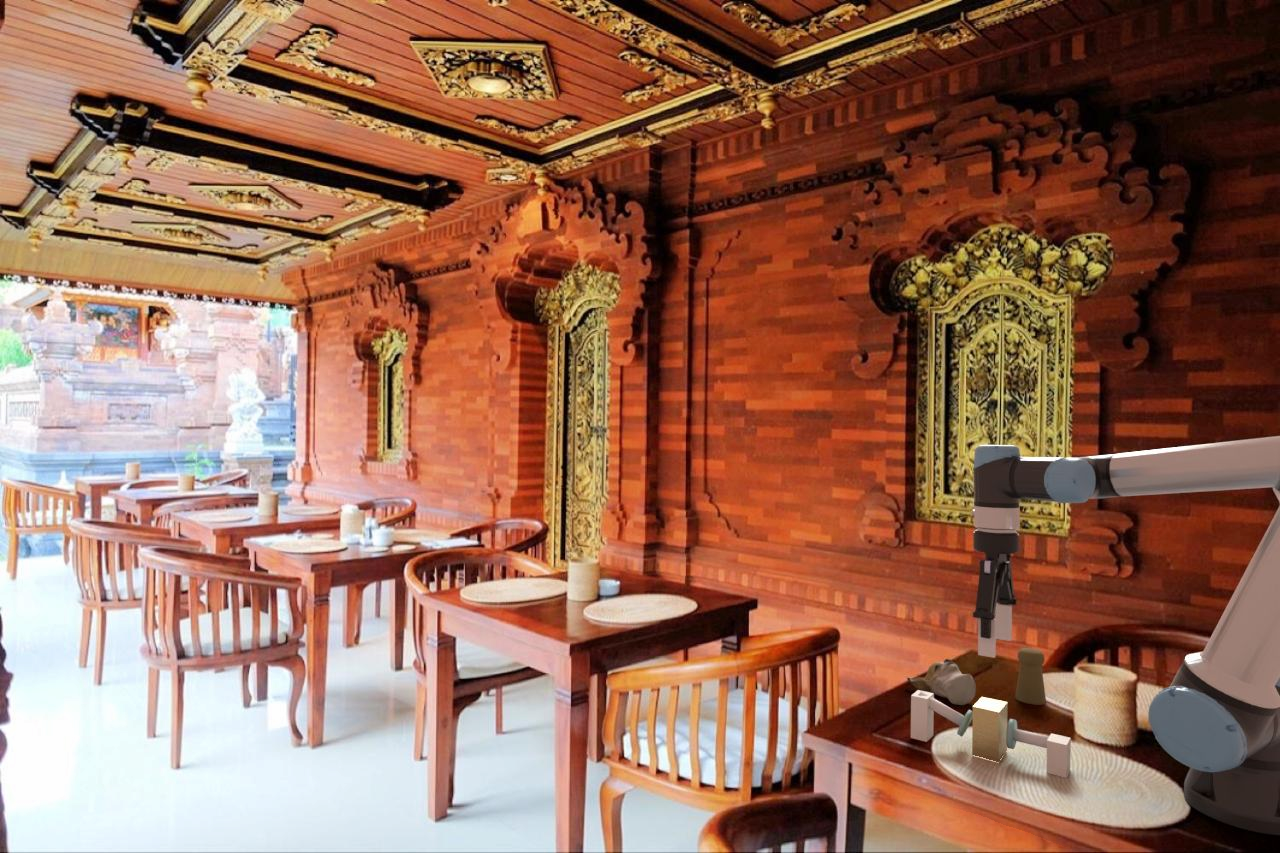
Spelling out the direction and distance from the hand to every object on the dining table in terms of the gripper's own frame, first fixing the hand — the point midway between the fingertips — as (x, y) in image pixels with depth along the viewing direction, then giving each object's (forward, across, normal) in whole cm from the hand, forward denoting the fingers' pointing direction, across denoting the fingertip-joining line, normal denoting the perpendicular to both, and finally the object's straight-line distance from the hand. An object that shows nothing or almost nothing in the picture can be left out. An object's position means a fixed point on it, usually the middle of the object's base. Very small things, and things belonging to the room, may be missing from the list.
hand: (995, 647), depth 138 cm
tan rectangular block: (+19, +1, -1) cm, 19 cm away
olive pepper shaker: (+19, -35, 0) cm, 40 cm away
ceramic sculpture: (+19, -25, -15) cm, 35 cm away
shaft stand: (+19, +1, -1) cm, 19 cm away
